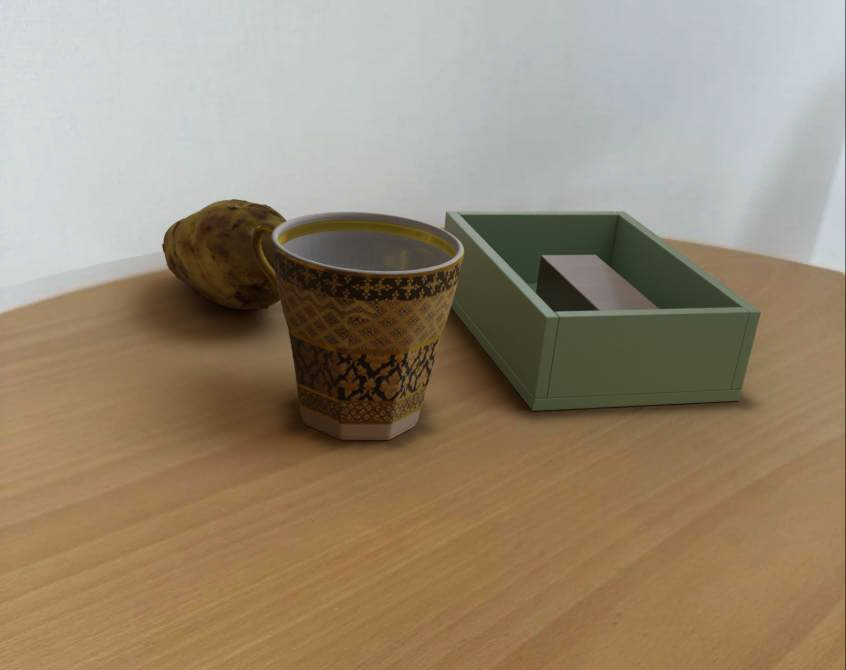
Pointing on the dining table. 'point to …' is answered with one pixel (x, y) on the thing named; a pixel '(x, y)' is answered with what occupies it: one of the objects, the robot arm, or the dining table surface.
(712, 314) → the bin
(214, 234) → the potato
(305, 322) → the ceramic cup
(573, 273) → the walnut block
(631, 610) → the dining table surface
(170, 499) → the dining table surface
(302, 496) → the dining table surface
